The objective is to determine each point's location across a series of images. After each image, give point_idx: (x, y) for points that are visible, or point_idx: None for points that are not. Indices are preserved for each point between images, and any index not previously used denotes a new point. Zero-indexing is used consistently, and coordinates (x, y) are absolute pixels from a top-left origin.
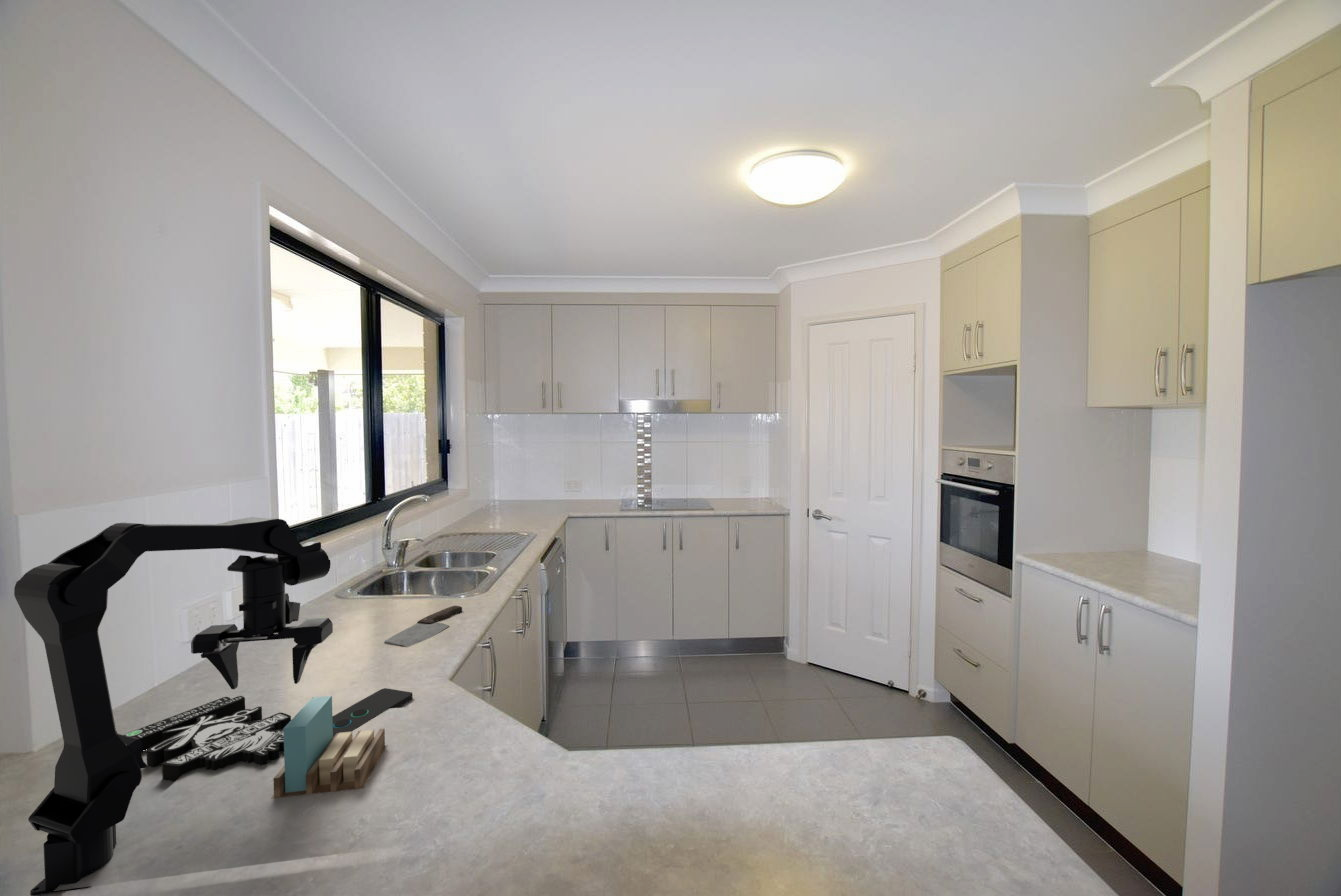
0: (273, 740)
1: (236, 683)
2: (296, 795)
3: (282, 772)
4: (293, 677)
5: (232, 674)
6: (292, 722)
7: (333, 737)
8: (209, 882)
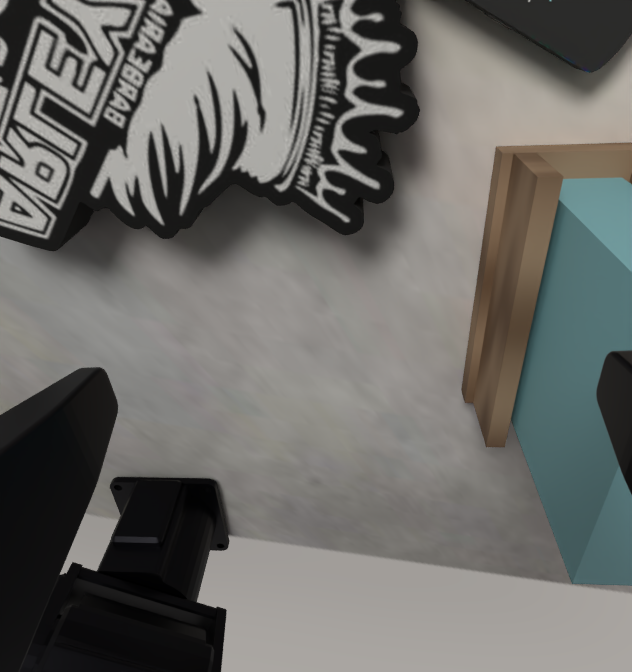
0: (332, 99)
1: (93, 403)
2: None
3: (506, 426)
4: (623, 471)
5: (51, 525)
6: (601, 552)
7: (606, 9)
8: (435, 561)
